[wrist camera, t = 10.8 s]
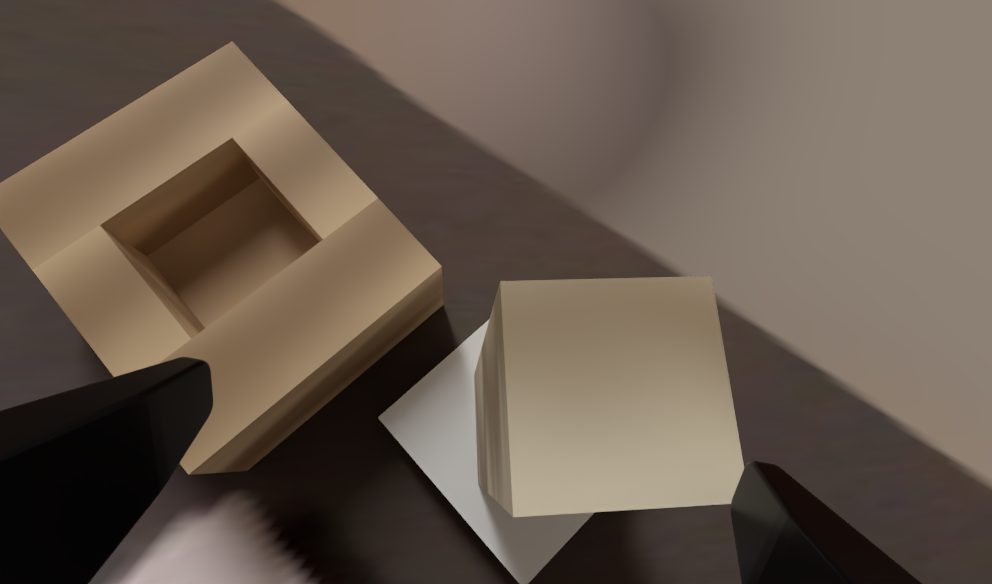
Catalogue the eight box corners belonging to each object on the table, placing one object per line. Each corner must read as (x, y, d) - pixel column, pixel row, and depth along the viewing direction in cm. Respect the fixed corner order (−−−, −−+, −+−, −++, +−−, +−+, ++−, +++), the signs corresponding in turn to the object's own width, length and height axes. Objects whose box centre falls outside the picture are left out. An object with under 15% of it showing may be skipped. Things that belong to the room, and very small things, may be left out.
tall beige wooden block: (584, 477, 21) (749, 502, 9) (478, 483, 20) (513, 516, 9) (574, 371, 22) (711, 276, 10) (473, 375, 21) (499, 280, 10)
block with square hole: (443, 304, 24) (441, 266, 19) (247, 471, 21) (188, 474, 16) (272, 118, 26) (232, 41, 21) (74, 251, 23) (-24, 197, 18)
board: (657, 432, 23) (671, 430, 21) (518, 579, 21) (523, 588, 19) (525, 293, 24) (529, 283, 23) (382, 420, 22) (377, 417, 21)
